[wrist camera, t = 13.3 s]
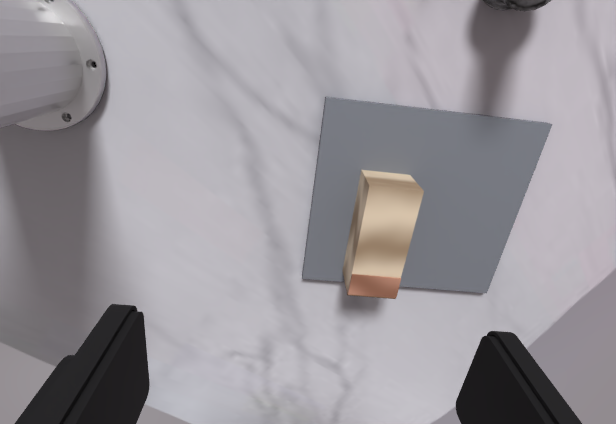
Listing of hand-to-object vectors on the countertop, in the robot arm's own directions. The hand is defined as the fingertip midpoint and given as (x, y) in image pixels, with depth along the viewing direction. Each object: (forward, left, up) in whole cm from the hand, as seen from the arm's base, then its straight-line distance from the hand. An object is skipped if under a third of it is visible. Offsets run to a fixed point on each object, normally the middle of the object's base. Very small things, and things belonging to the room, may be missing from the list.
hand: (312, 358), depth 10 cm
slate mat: (+13, -6, -28) cm, 32 cm away
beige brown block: (+9, -9, -28) cm, 30 cm away
